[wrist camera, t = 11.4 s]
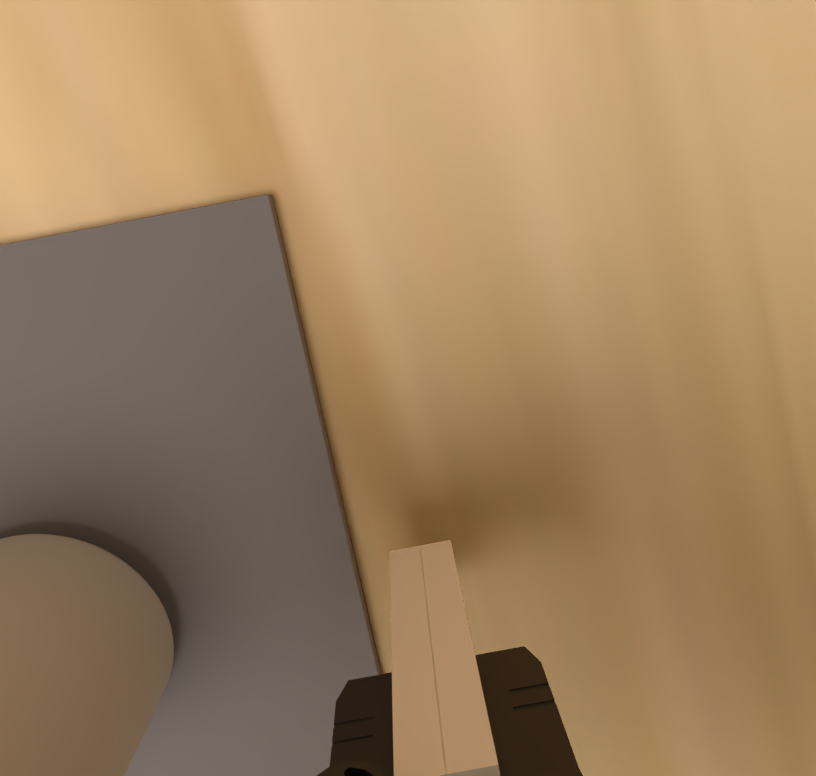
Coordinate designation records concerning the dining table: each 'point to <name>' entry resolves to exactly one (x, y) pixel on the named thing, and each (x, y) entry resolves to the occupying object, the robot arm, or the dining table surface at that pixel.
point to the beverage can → (76, 658)
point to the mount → (190, 471)
